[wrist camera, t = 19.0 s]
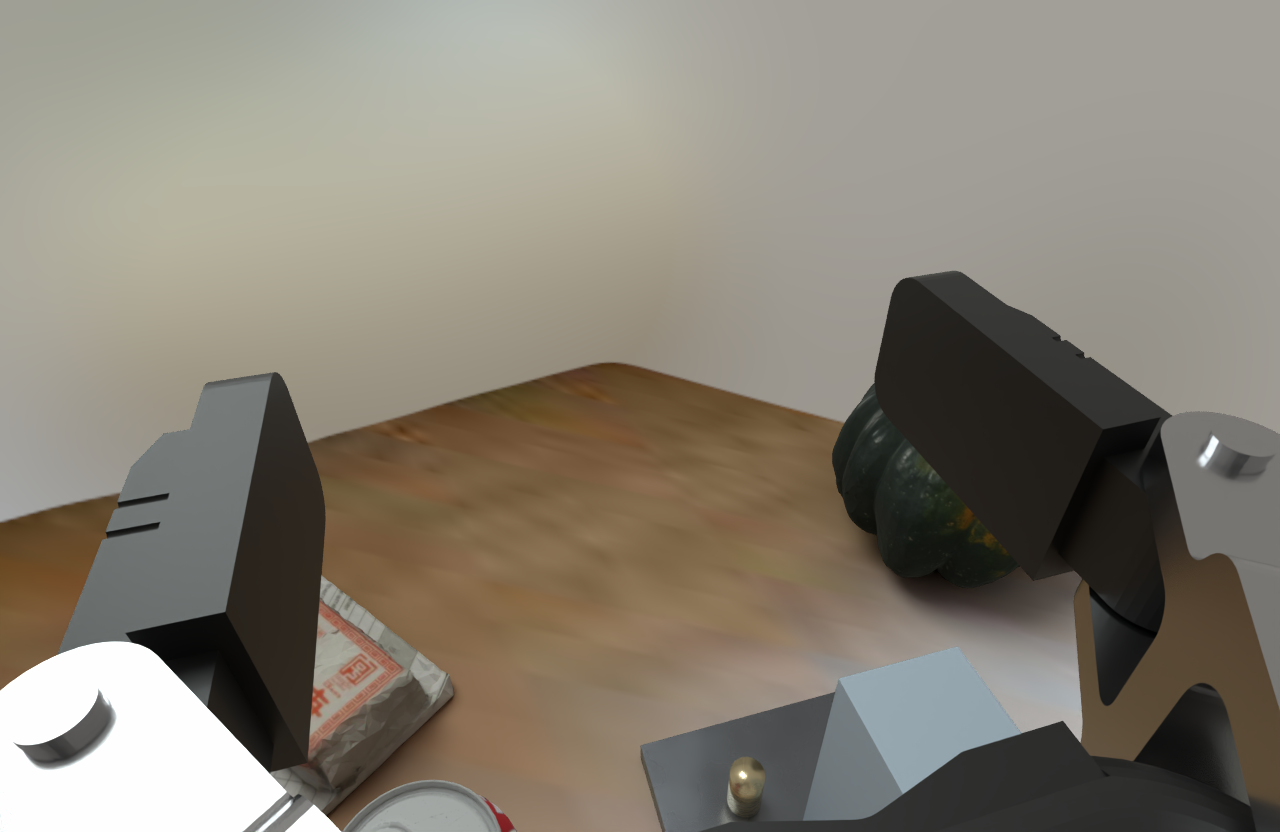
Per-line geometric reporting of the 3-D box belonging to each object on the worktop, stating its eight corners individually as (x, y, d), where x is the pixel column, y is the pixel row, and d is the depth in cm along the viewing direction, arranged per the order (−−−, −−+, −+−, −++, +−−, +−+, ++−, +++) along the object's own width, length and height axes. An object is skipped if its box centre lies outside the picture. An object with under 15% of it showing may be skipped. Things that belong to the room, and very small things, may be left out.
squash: (781, 520, 45) (1015, 386, 36) (804, 388, 57) (985, 263, 48) (933, 660, 48) (1181, 567, 39) (925, 507, 60) (1115, 410, 51)
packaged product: (448, 643, 40) (276, 796, 33) (463, 695, 42) (307, 845, 36) (259, 501, 48) (95, 601, 42) (282, 552, 51) (131, 653, 45)
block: (959, 913, 32) (1048, 770, 25) (853, 951, 31) (913, 813, 24) (896, 799, 36) (958, 646, 29) (800, 829, 35) (838, 678, 28)
